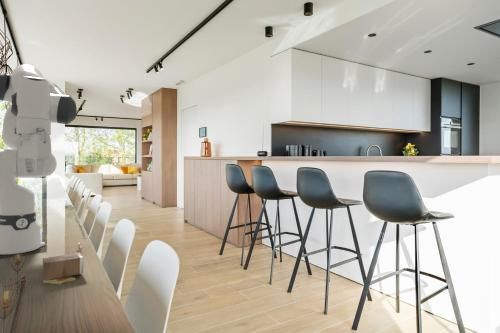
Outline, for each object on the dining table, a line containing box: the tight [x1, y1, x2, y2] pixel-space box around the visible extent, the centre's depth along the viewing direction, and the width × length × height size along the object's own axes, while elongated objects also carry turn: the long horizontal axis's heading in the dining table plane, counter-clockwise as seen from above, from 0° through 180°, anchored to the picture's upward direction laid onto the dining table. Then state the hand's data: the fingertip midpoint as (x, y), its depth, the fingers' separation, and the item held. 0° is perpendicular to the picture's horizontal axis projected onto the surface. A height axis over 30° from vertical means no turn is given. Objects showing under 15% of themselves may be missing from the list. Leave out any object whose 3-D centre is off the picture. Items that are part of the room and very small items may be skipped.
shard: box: [42, 275, 76, 285], centre depth 98 cm, size 11×8×2 cm
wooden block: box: [42, 252, 85, 281], centre depth 97 cm, size 5×5×10 cm
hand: (33, 173), depth 100 cm, fingers open, 8 cm apart
